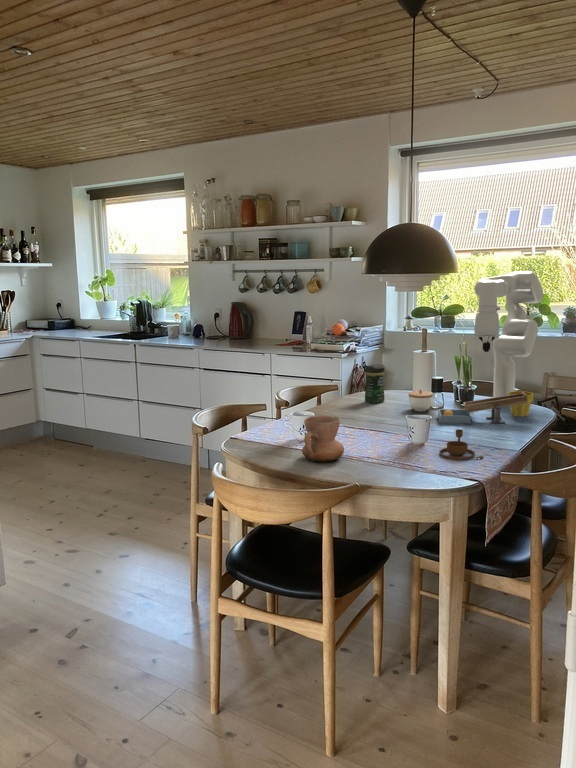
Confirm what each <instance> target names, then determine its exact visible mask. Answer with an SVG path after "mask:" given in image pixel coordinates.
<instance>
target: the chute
mask: <svg viewBox="0 0 576 768" xmlns="http://www.w3.org/2000/svg"><path fill="white" fill-rule="evenodd" d="M525 403H528V401H527V396H526V394H525V393H524V392H522V393H519V394H513V395H506V396H500V397H494V398H491V397H488V398H483V399H477V400H471V401H464V402H463V404H462V405H463V406H464V409H465V410H467V412H468V413H469V414H470V413H475V412H479V411H480V412H481V411H486V410H491V409H494V408H495V405H501V408H506V407H510V406H513V405H519V404H525Z"/></svg>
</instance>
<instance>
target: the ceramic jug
mask: <svg viewBox="0 0 576 768" xmlns="http://www.w3.org/2000/svg"><path fill="white" fill-rule="evenodd" d="M303 422H304V427H305V430H306V433H305V434H304V439H303V440H304V445H303V447H302V450H301V452H302V455H303V456H304V457H305V458H306V459H308V460H311V461H315V462H325V463H326V462H332V461H335V460H338V459H339V458H341V457H342V456H343V454H344V452H345V448H344V445H343V444H342V443H341V442H340V441H339V440H337V439H336V437H337V434H338V432H339V429H340V423H341V418H340V417H339V416H336V415H335V416H332V415H329V414H326V415H325V414H319V415H312V416H309V417H307V418H305V419H304V420H303Z"/></svg>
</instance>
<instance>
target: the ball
mask: <svg viewBox="0 0 576 768" xmlns="http://www.w3.org/2000/svg"><path fill="white" fill-rule="evenodd" d="M443 415H444V416H453V412H452V411H450V410H446V411H445V412H444V413H443Z"/></svg>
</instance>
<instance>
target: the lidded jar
mask: <svg viewBox="0 0 576 768" xmlns="http://www.w3.org/2000/svg"><path fill="white" fill-rule="evenodd" d="M433 395H434V394H433V392H430V391H423V390H422V389H419V390H417V391H410V392H408V403H409V406H410V407H411V408H412V410H413V409H414V410H415V411H416V412H427V411H428V410H429V409H430V407H431V406H432V403H433ZM414 410H413V411H414ZM426 410H427V411H426Z"/></svg>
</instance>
